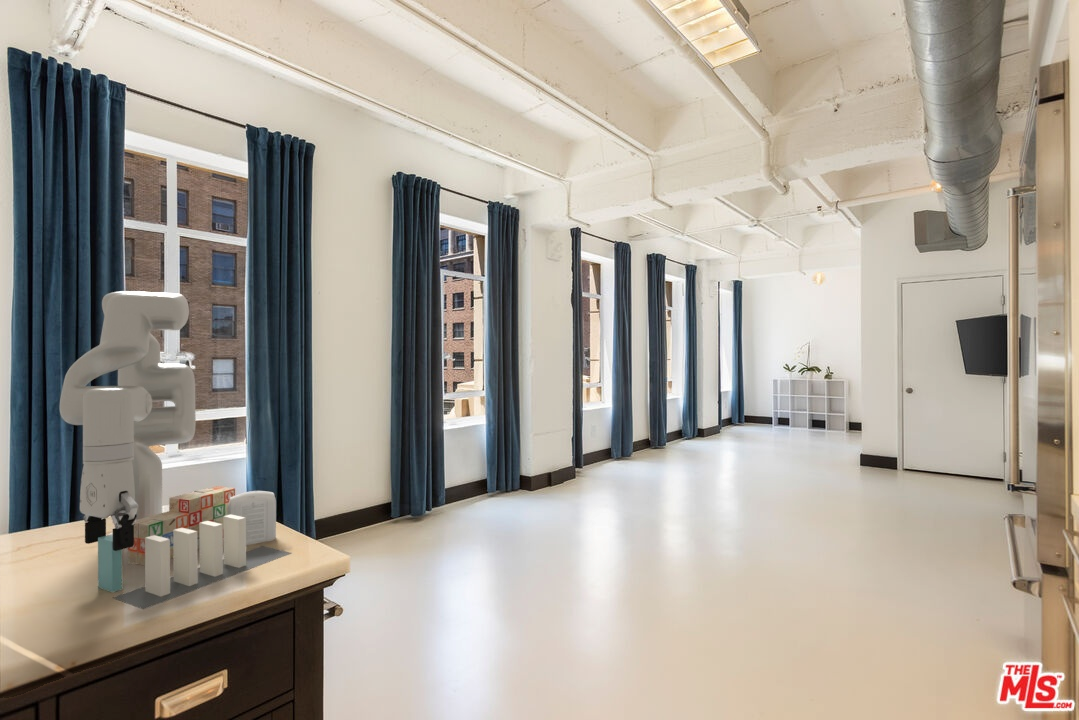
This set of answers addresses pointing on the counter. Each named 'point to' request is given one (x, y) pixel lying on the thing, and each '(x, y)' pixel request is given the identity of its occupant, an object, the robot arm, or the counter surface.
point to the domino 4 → (211, 548)
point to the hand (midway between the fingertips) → (109, 545)
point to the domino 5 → (234, 540)
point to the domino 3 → (185, 556)
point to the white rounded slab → (256, 514)
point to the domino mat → (201, 579)
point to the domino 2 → (157, 565)
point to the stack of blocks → (181, 518)
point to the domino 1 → (109, 565)
